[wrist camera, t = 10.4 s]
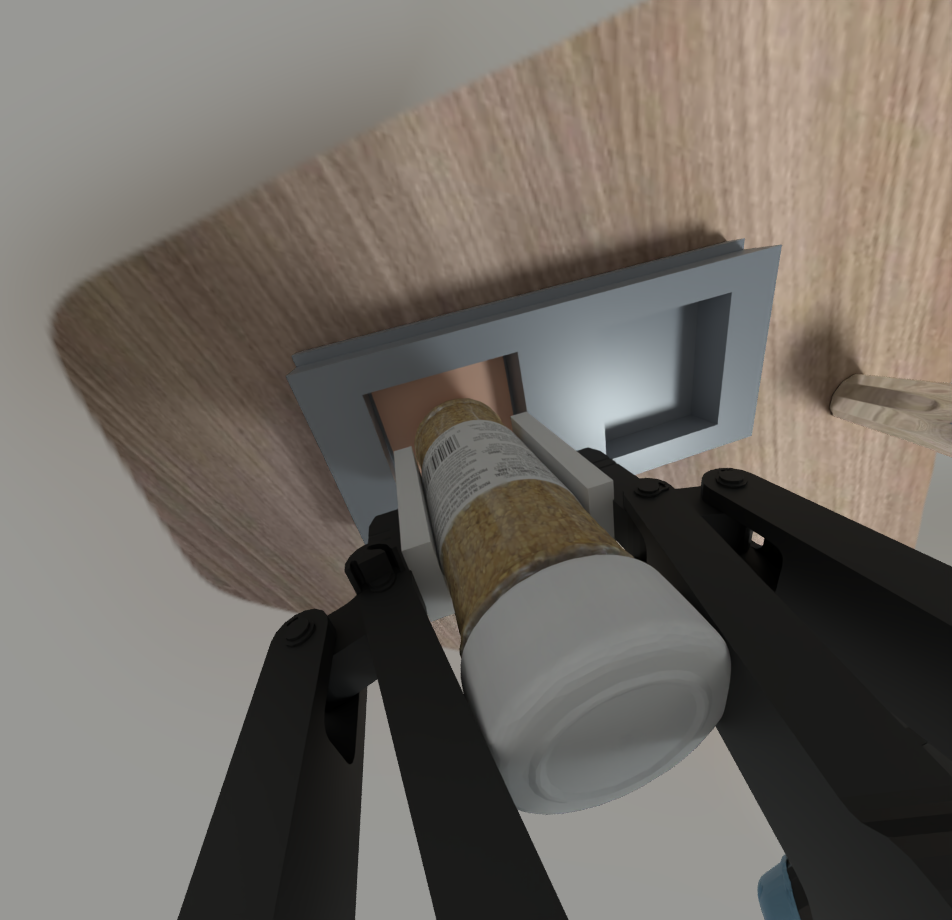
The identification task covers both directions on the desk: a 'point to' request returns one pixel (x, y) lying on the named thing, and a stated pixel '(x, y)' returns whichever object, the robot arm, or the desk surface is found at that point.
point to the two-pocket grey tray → (557, 369)
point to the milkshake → (898, 408)
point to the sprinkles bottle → (560, 625)
